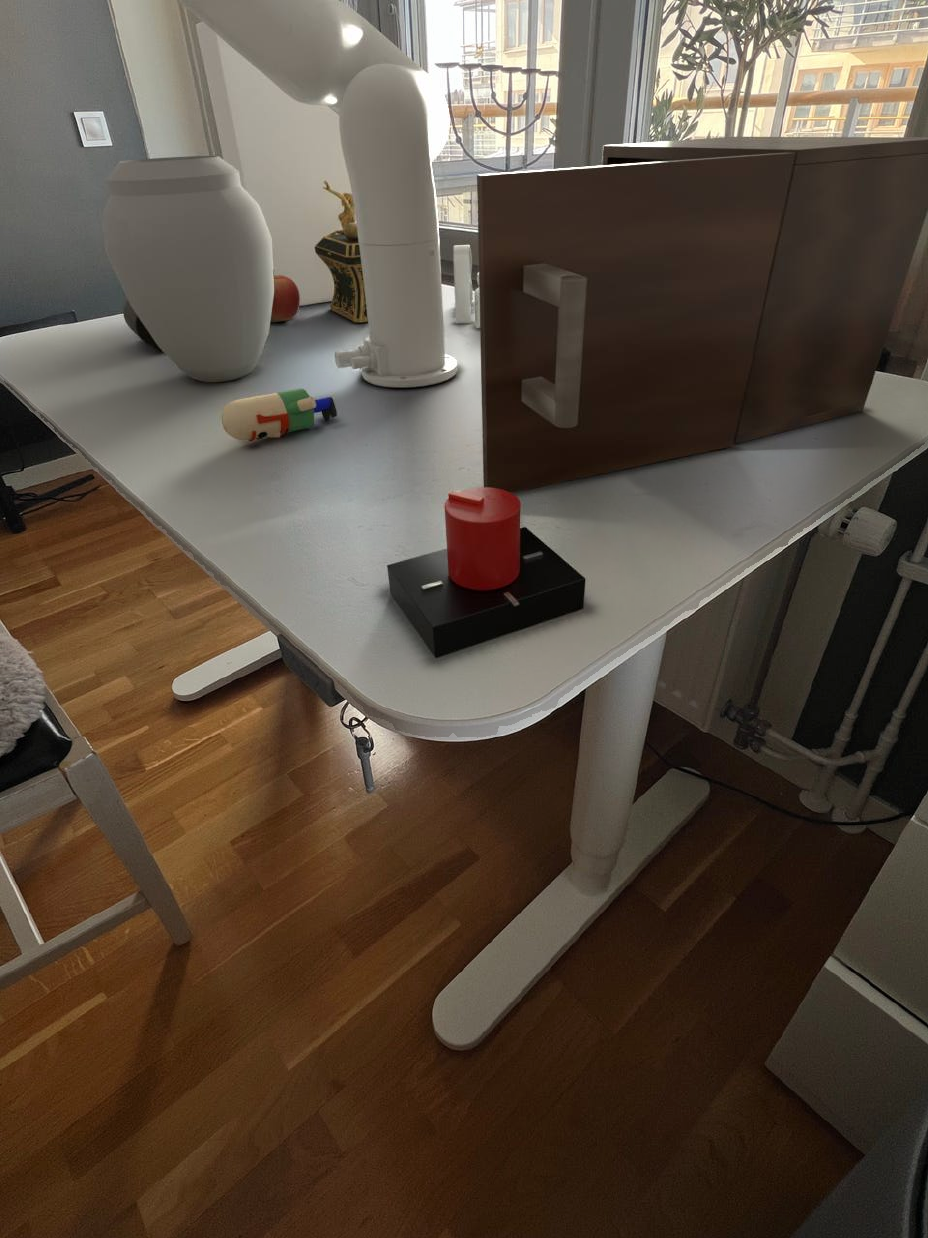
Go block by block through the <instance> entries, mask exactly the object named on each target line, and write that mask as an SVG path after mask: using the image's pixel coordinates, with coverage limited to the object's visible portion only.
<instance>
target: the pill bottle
mask: <svg viewBox="0 0 928 1238" xmlns="http://www.w3.org/2000/svg"><path fill="white" fill-rule="evenodd" d="M476 282H477V283H476V284H477V285H478V286H479V272H477V273H476ZM473 295H474V297H473V298H474V325H475V328H476V329H479V330H480V296H479V287H477V288H476V289H475V290H474V293H473Z"/></svg>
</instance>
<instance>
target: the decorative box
mask: <svg viewBox="0 0 928 1238" xmlns="http://www.w3.org/2000/svg"><path fill="white" fill-rule="evenodd" d="M324 183H325V184H326V188H325V187H323V188H324V189H326V190H327V191H329V192H331V193H333V194H334V195H336V196H337V197H339V198H340V199H341V200H342V201H341V202H342V206H344V212H343V213H341V214H339V216H338V218H339V220H340V221H341V225H342V228H343V230H340V231H335V232H333V233H331V234H329V235H327V236H324V237H323V238H322V239H321V240H320V241H319V242H318V243H317V244H316V245H315V252H316V254H317V255H318V256H319V257H320V258H321V260H322V261H323V262H324V263H325V264H326V265H327V267H328V268H329V270H330V272H331V274H332V277H333V281H334V295H333V299H332V301H331V303H330V307H329V309H330V310H331V311H332V312H334V313H337V314H338V315H340V316H341V317H344V318H346V319H348V320H350V321H351V322H353V323H355V324H365V323H368V316H367V307H366V298H365V290H364V281H363V272H362V264H361V255H360V246H359V241H358V233H357V224H356V223H355V222H356V217H355V211H354V202H353V196H352V194H350V193H349V194H348V193H344V194H343V195H344V196H343V195H342V194H340V193H338V192H336V191H333V190H331V189H330V186H329V185H328V183H327V182H326V181H324ZM336 233H338V234H336ZM335 234H336V235H335Z"/></svg>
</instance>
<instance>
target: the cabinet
mask: <svg viewBox="0 0 928 1238" xmlns="http://www.w3.org/2000/svg"><path fill="white" fill-rule="evenodd" d="M772 153H795V155H794V160H793V164H792V169H791V174H790V179H789V183H788V188H787V193H786V197H785V202H784V207H783V211H782V216H781V221H780V225H779V230H778V235H777V240H776V244H775V249H774V254H773V258H772V263H771V268H770V272H769V277H768V282H767V286H766V291H765V296H764V301H763V305H762V310H761V315H760V319H759V324H758V329H757V333H756V338H755V343H754V348H753V352H752V357H751V362H750V366H749V371H748V376H747V380H746V385H745V390H744V394H743V399H742V404H741V409H740V413H739V418H738V423H737V427H736V432H735V437H734V441H733V445H737V444H742V443H745V442H749V441H753V440H757V439H760V438H763V437H768V436H771V435H775V434H780V433H784V432H788V431H791V430H795V429H799V428H802V427H806V426H810V425H814V424H817V423H822V422H825V421H829V420H833V419H836V418H840V417H844V416H848V415H852V414H855V413H859V412H862V411H864V408H865V406H866V402H867V401H868V396H869V394H870V390H871V387H872V384H873V381H874V378H875V374H876V371H877V369H878V366H879V363H880V359H881V357H882V353H883V350H884V347H885V345H886V341H887V338H888V334H889V332H890V329H891V327H892V326H891V325H892V323H893V320H894V316H895V313H896V310H897V308H898V307H897V306H898V304H899V301H900V298H901V295H902V292H903V289H904V286H905V282H906V279H907V276H908V274H909V270H910V267H911V265H912V260H913V257H914V255H915V252H916V248H917V246H918V242H919V239H920V236H921V234H922V230H923V227H924V224H925V221H926V218H927V215H928V136H926V137H922V136H920V137H919V136H918V137H917V136H914V137H912V136H910V137H908V136H875V137H874V136H721V137H708V138H693V139H692V138H691V139H679V140H678V139H677V140H664V141H649V142H636V143H619V144H605V145H602V158H601V166H606V165H619V164H633V163H647V162H661V161H675V160H689V159H703V158H717V157H731V156H744V155H758V154H772Z"/></svg>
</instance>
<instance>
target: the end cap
mask: <svg viewBox="0 0 928 1238" xmlns="http://www.w3.org/2000/svg"><path fill="white" fill-rule="evenodd" d="M122 312H123V313H122V315H123V319H124V321H125V323H126V325H127V326H128V328H129V329H130V330H132V332H133V333H134V334H135V335H136V336H137V337H138V338H139V339H140V340H141V341H142V342H143V343H145V344H146V345H147V346H149V347H151V348H152V349H154V350H156V351H158V352H162V353H164V352H163V351H162V350H161V349H160V348H159V346H158V345H157V344H156V342H155V341H154V339H153V338H152V336H151V335H150V333H149V332H148V330H147V329H146V327H145V326H144V324H143V323H142V322H141V320H140V319H139V317H138V316H137V314H136V313H135V311H134V310H133V308H132V307H131V305H130V303H129V301H128V299H127V300H126V301H125V303H124V306H123V309H122Z"/></svg>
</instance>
